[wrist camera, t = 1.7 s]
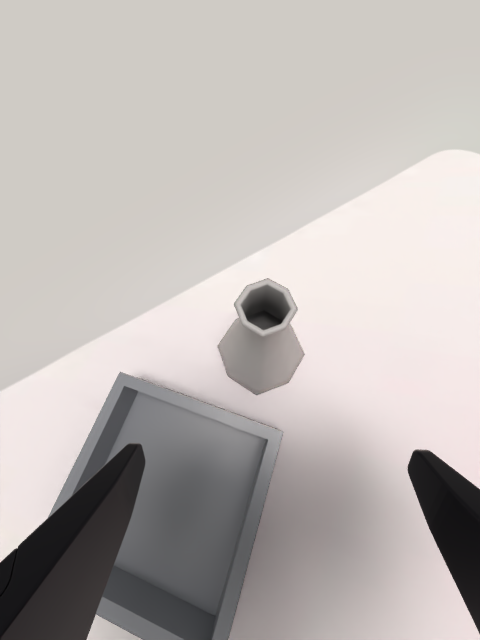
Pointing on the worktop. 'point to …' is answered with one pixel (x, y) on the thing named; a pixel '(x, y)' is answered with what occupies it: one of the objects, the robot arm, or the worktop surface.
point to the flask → (262, 338)
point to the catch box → (180, 509)
